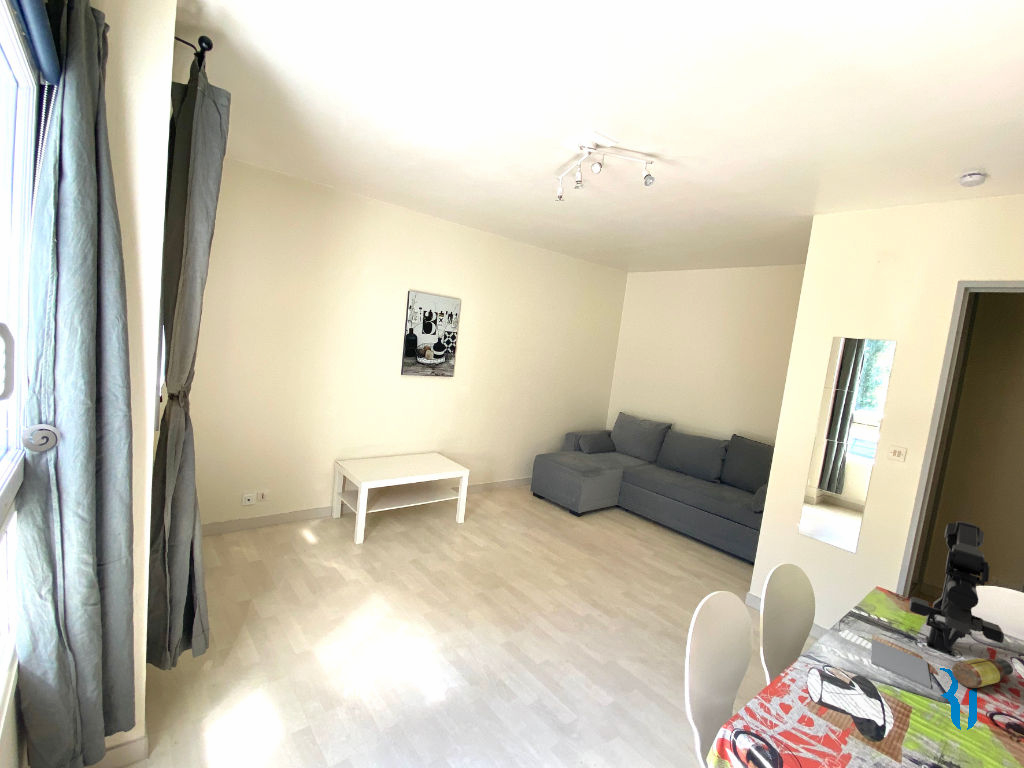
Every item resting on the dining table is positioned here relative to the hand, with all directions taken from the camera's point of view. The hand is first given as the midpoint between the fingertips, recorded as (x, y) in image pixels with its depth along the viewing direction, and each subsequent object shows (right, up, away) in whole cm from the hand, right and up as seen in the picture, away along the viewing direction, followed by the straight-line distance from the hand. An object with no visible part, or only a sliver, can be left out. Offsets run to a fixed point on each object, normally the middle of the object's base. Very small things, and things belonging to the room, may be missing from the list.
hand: (947, 646), depth 128 cm
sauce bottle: (+3, -7, -1) cm, 8 cm away
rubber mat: (-8, -9, +6) cm, 13 cm away
